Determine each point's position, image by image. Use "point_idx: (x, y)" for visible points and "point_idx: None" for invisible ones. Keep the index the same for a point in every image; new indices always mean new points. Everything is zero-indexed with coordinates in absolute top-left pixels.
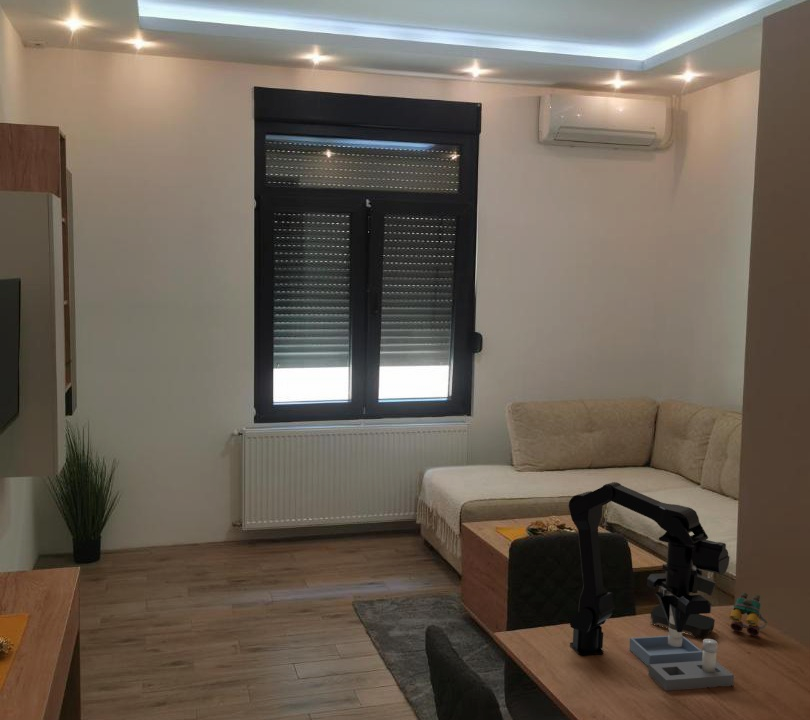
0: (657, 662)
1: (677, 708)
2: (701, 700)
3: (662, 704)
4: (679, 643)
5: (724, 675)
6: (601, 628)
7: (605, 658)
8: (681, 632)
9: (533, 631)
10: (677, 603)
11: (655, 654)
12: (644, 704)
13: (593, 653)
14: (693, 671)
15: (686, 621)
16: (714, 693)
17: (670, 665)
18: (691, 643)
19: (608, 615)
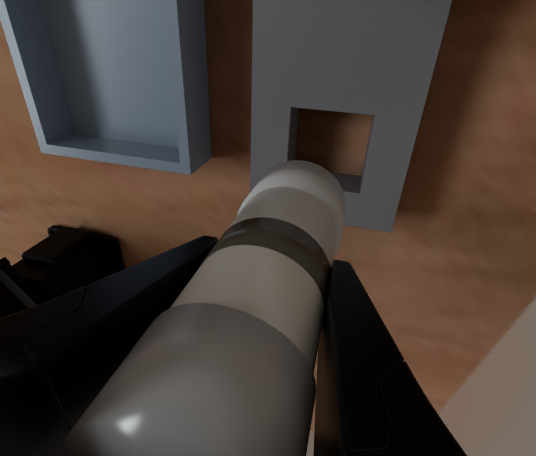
0: (202, 128)
1: (523, 254)
2: (528, 123)
3: (469, 279)
4: (344, 216)
5: None
6: (43, 281)
7: (143, 247)
8: (328, 240)
9: None
10: (30, 386)
11: (182, 144)
12: (440, 322)
13: (122, 267)
14: (361, 51)
15: (393, 342)
16: (509, 4)
17: (274, 129)
18: None
19: (3, 314)
